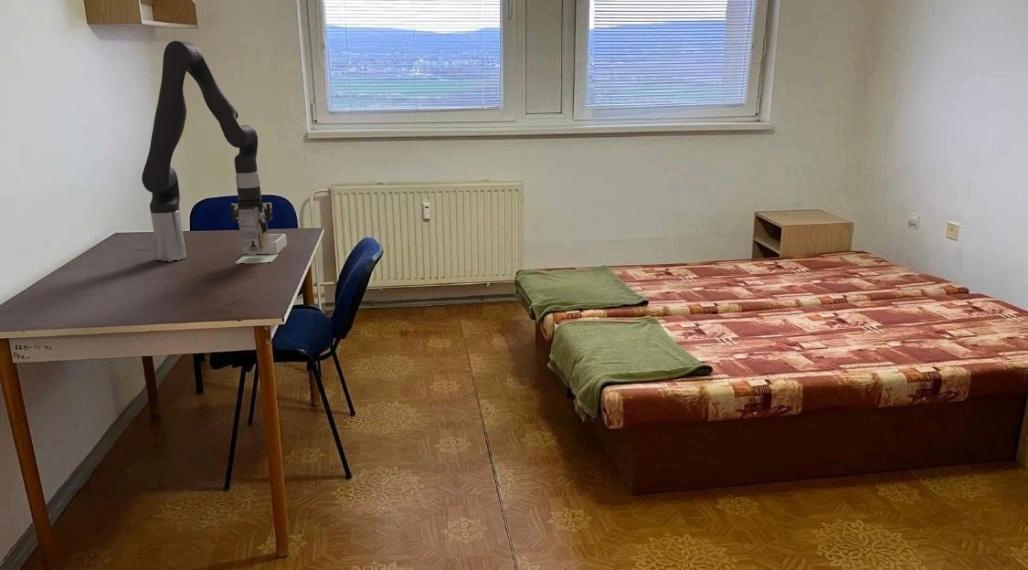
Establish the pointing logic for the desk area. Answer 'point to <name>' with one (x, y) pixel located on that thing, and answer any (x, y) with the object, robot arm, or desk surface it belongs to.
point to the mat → (256, 259)
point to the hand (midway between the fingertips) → (254, 232)
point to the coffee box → (252, 229)
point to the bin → (274, 244)
